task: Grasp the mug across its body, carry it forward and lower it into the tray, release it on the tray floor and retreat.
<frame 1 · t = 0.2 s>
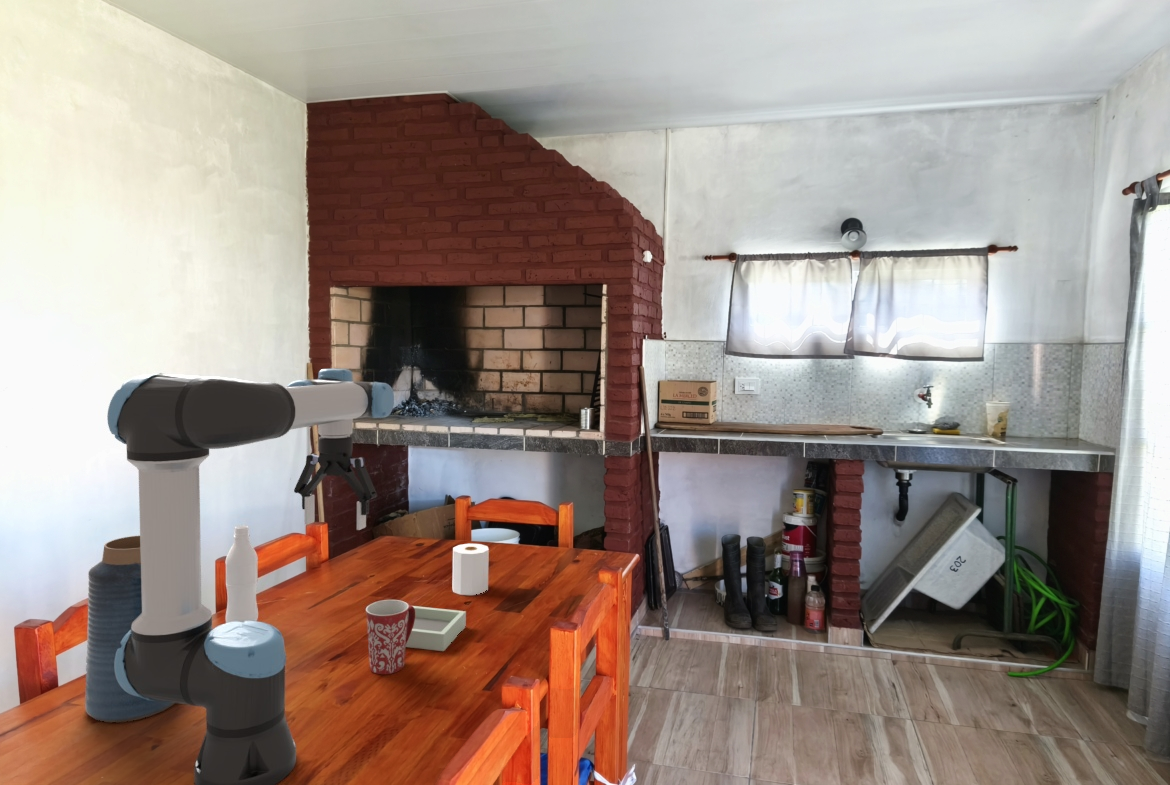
hand: (335, 526, 165), 27 cm above the table, fingers open, 13 cm apart
water bottle: (242, 628, 173), on the table
mug: (393, 665, 156), on the table
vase: (137, 703, 137), on the table
toilet paper: (470, 590, 204), on the table
tray: (419, 634, 172), on the table
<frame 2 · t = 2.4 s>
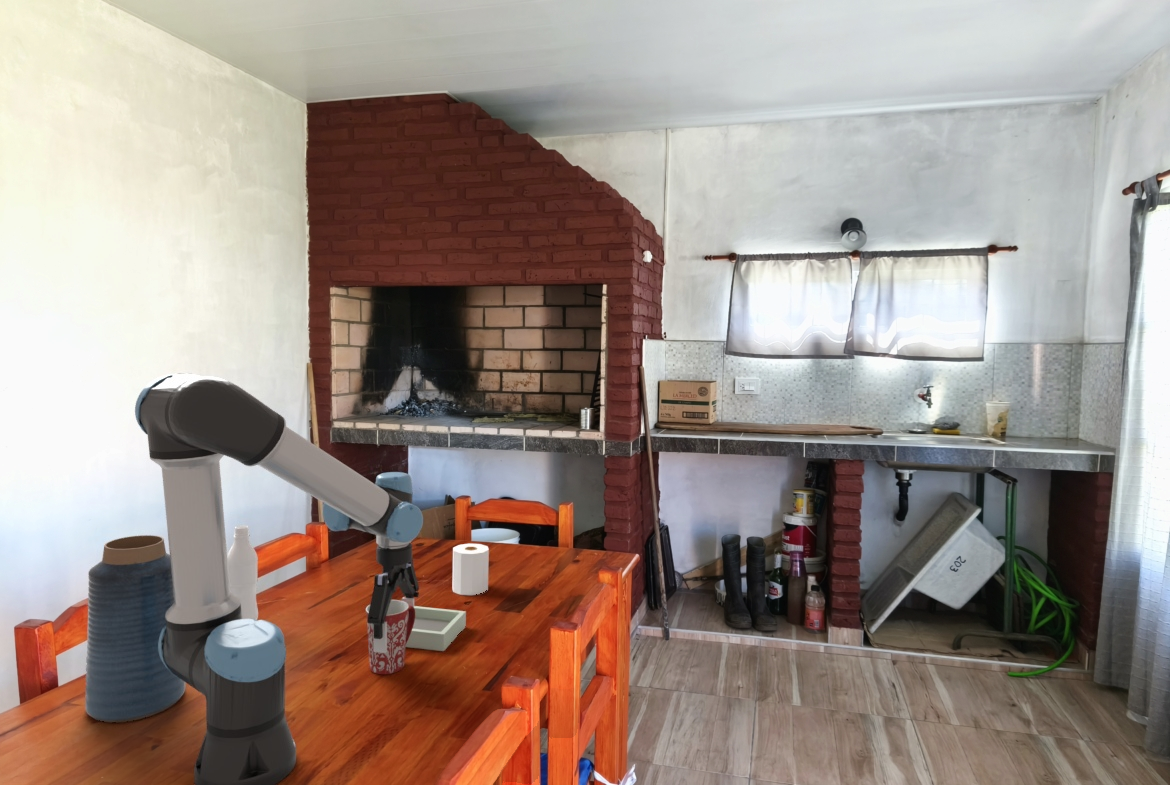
hand: (394, 638, 156), 6 cm above the table, fingers open, 13 cm apart
nothing on the table moved.
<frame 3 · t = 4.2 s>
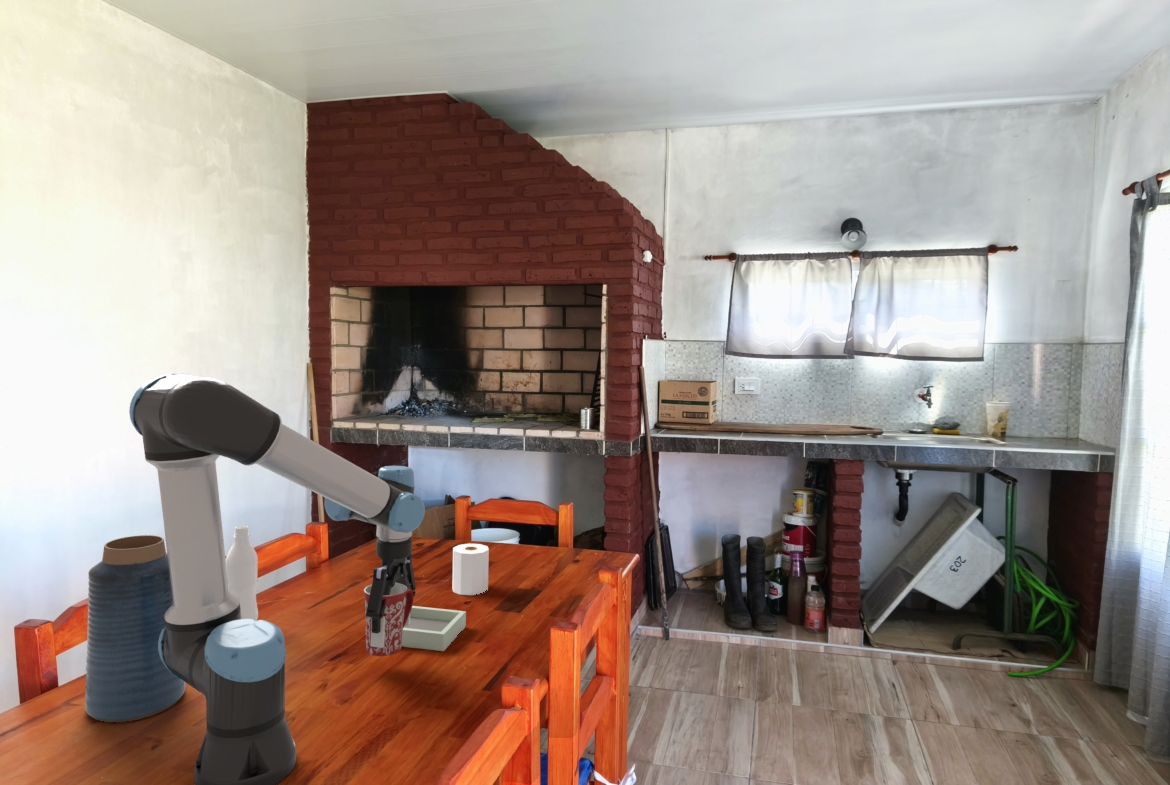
hand: (391, 635, 155), 7 cm above the table, fingers closed on mug, 12 cm apart
mug: (389, 648, 155), point 4 cm above the table, touching gripper
everything else where it was.
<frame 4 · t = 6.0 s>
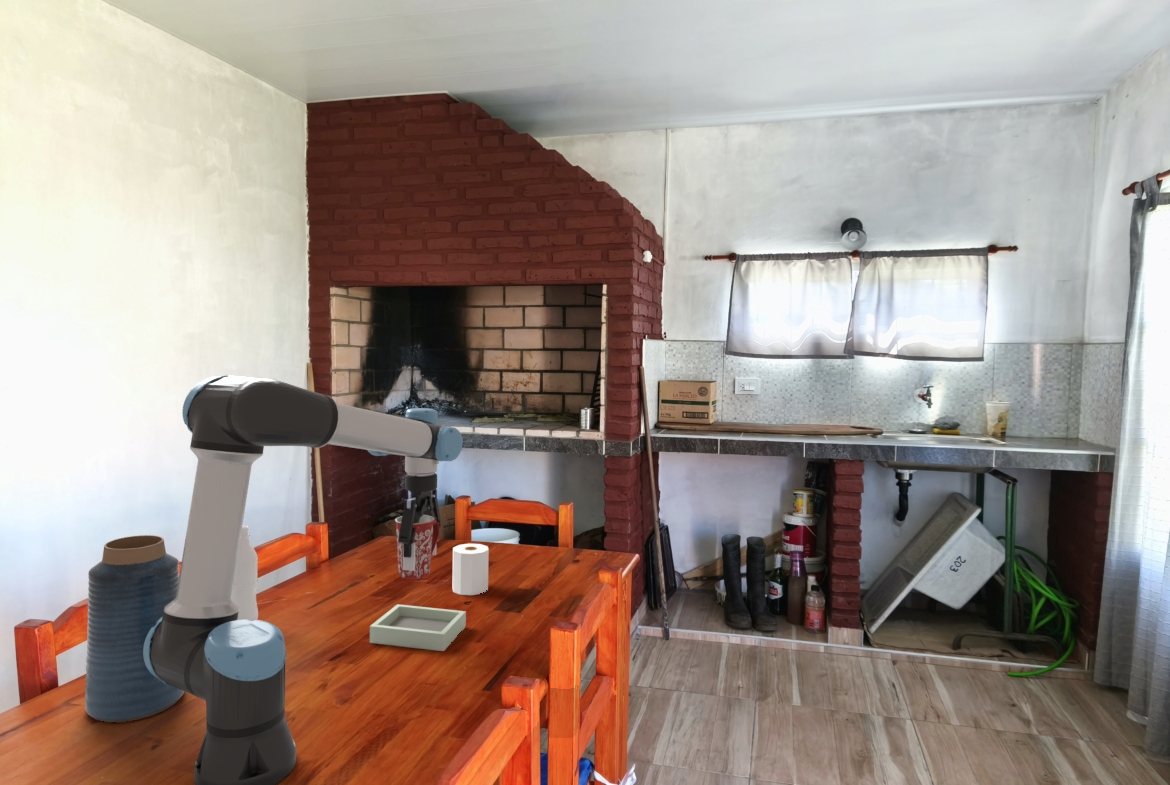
hand: (420, 562, 170), 18 cm above the table, fingers closed on mug, 12 cm apart
mug: (419, 573, 170), point 15 cm above the table, touching gripper
everything else where it was.
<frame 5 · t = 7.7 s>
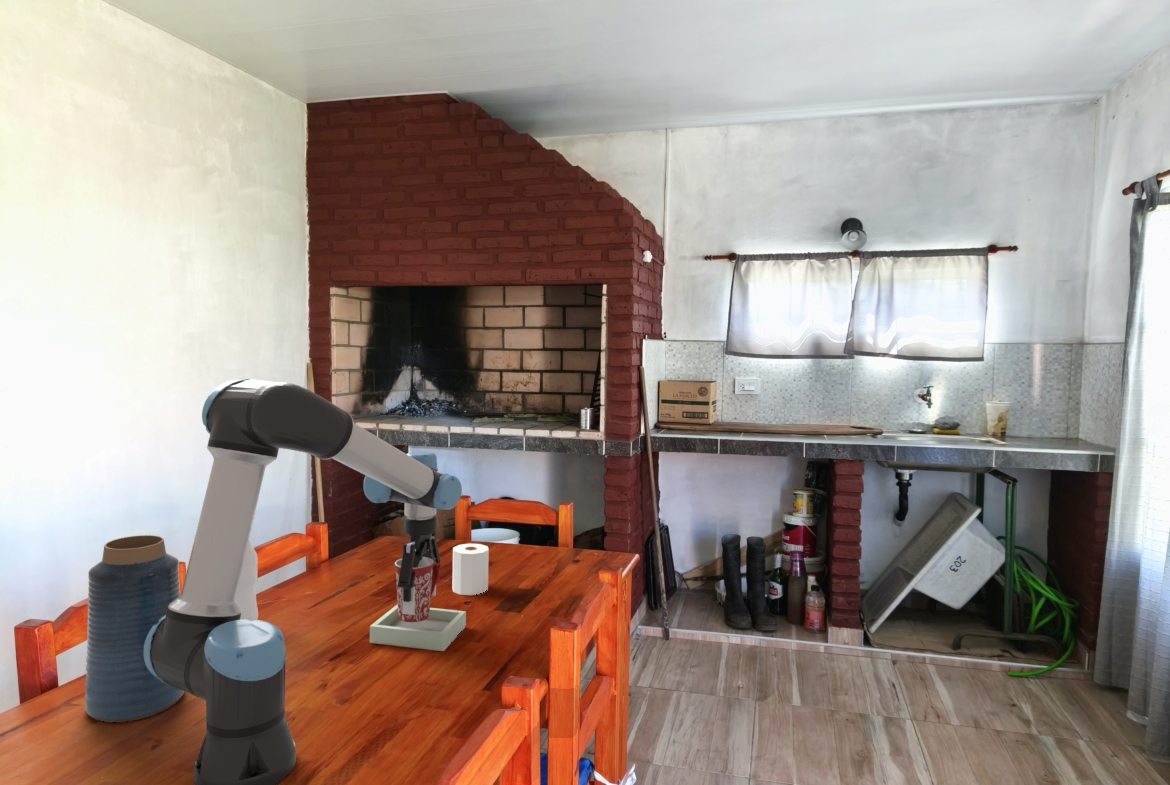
hand: (419, 604, 171), 8 cm above the table, fingers closed on mug, 12 cm apart
mug: (419, 615, 171), point 5 cm above the table, touching gripper
everything else where it was.
when the fingers open (5 cm above the table, at t = 8.9 s): mug drops 1 cm, resting on tray.
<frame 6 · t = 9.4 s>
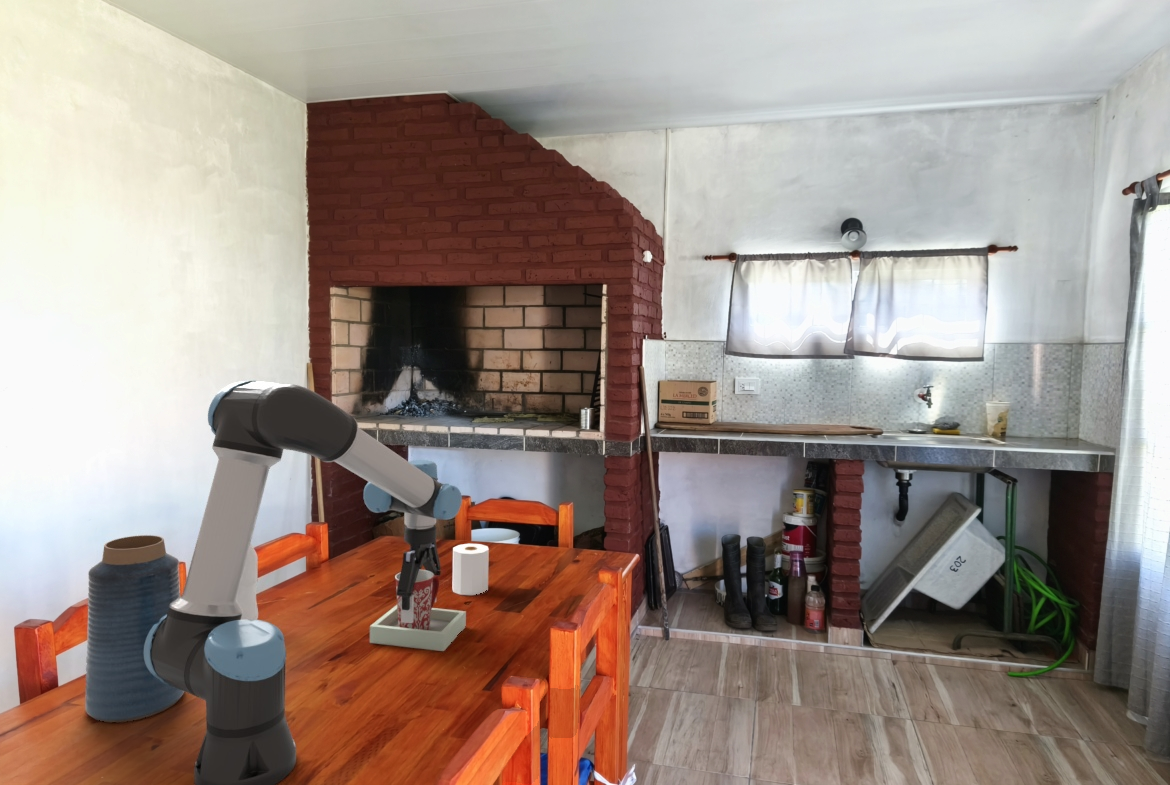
hand: (419, 611, 171), 6 cm above the table, fingers open, 13 cm apart
mug: (419, 628, 172), point 1 cm above the table, touching tray
everything else where it was.
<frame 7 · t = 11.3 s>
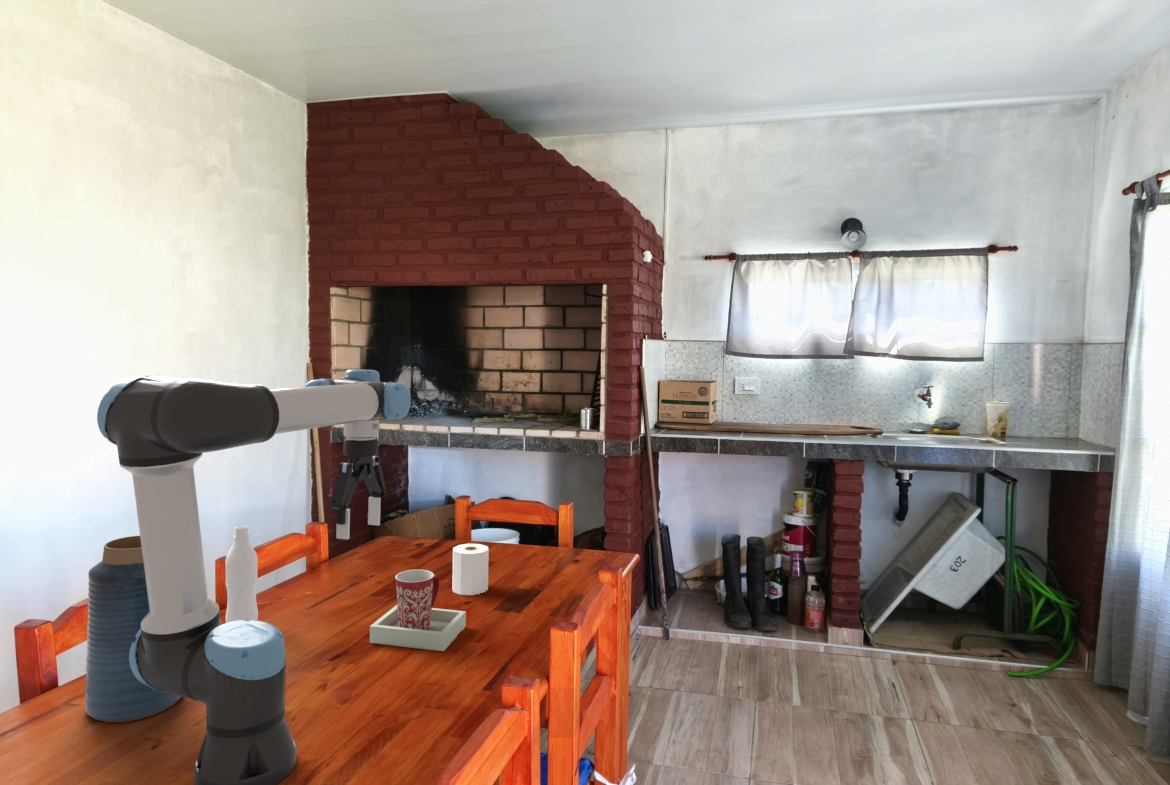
hand: (359, 531, 160), 28 cm above the table, fingers open, 13 cm apart
nothing on the table moved.
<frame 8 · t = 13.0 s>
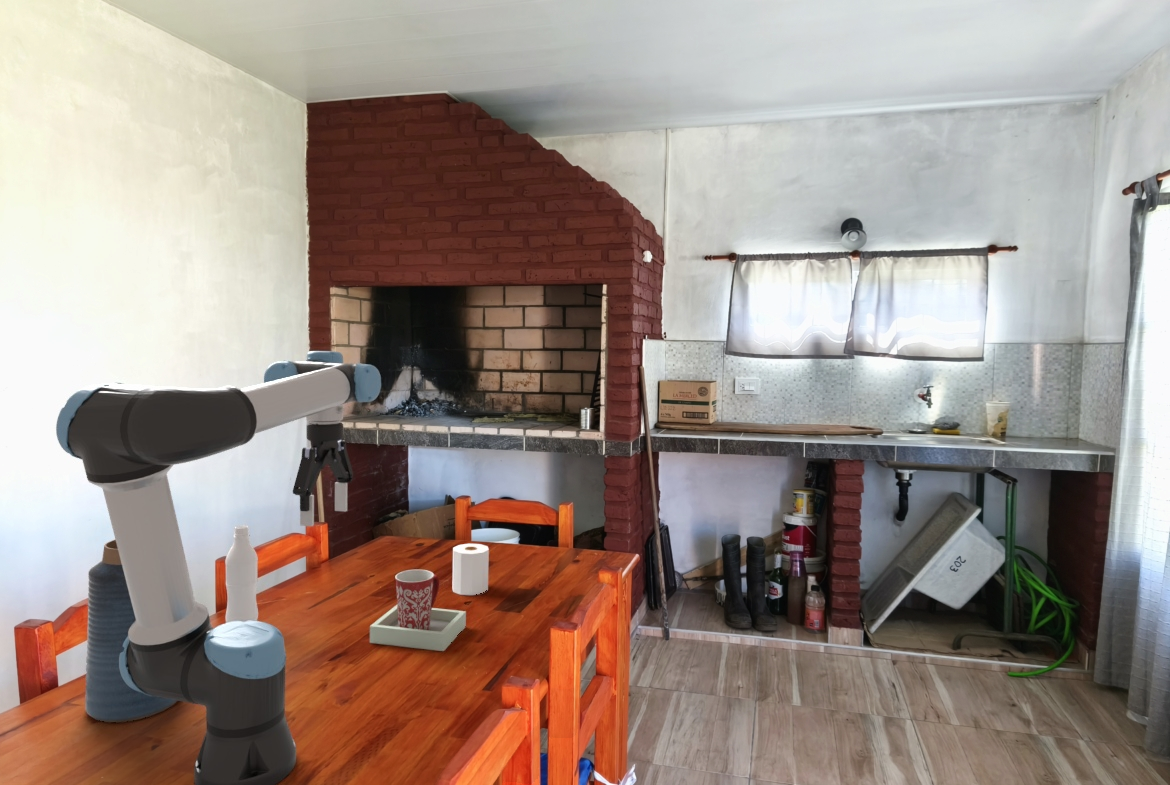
hand: (324, 518, 155), 32 cm above the table, fingers open, 13 cm apart
nothing on the table moved.
at the end: mug inside the target area on the tray (0.1 cm from its centre), point 1.5 cm above the tray's base; mug tilted 0°; the gripper is holding nothing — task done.
